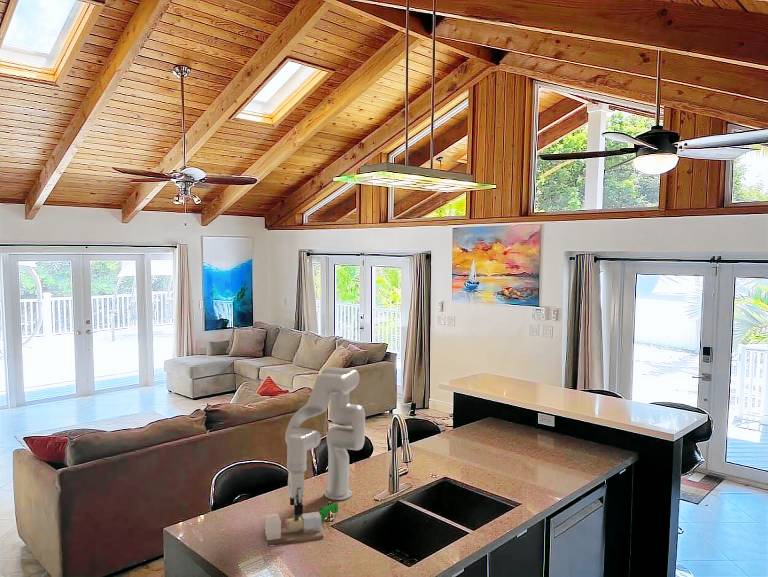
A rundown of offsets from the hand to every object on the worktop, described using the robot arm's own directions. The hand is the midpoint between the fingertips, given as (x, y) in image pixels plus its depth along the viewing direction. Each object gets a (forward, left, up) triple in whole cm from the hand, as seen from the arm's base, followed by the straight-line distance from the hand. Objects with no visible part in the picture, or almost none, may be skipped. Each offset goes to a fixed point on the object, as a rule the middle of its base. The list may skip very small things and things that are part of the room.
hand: (296, 509), depth 225 cm
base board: (0, -1, -10) cm, 10 cm away
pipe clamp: (-13, +15, -11) cm, 23 cm away
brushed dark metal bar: (0, +3, -7) cm, 7 cm away
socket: (0, -9, -9) cm, 13 cm away
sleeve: (0, +6, -9) cm, 11 cm away
